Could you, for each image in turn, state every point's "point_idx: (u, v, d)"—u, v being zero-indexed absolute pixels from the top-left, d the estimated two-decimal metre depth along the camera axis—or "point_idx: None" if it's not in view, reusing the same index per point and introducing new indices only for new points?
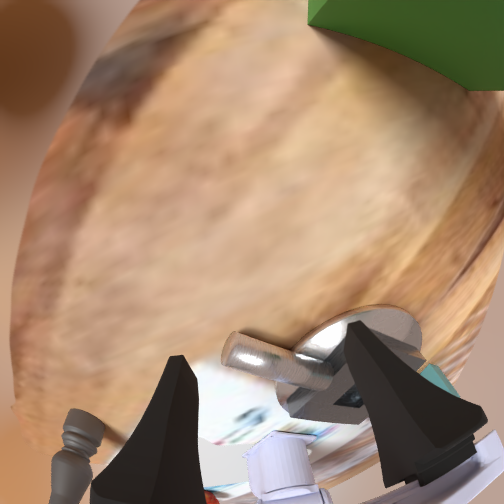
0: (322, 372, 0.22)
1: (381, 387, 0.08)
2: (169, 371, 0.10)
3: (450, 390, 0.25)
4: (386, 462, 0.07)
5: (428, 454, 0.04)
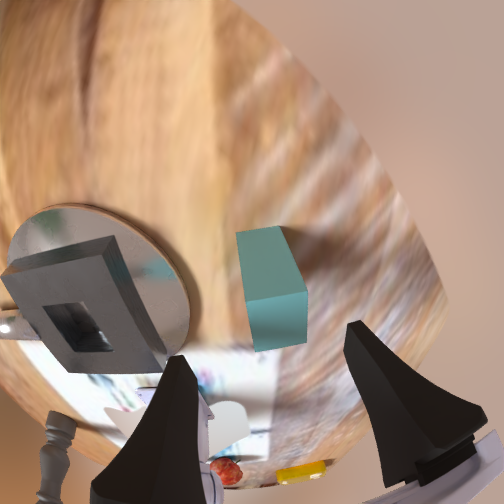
0: (20, 321, 0.17)
1: (381, 387, 0.08)
2: (169, 371, 0.10)
3: (254, 283, 0.14)
4: (386, 462, 0.07)
5: (428, 455, 0.04)
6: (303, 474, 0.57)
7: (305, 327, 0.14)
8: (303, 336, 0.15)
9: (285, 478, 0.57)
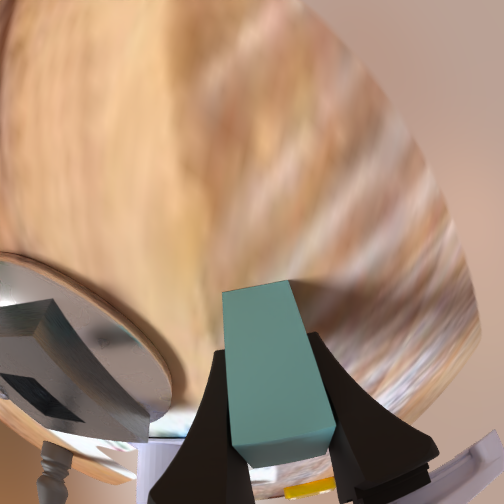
0: None
1: None
2: (218, 366, 0.10)
3: (247, 407, 0.07)
4: (338, 480, 0.07)
5: (362, 483, 0.04)
6: (312, 491, 0.51)
7: (325, 447, 0.08)
8: (321, 452, 0.08)
9: (293, 495, 0.51)
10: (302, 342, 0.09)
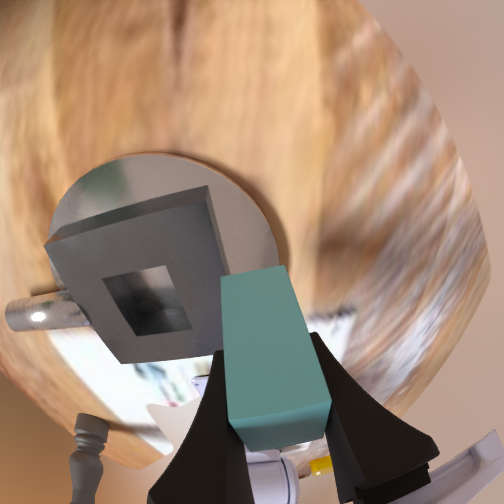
0: (63, 304, 0.16)
1: None
2: (218, 366, 0.10)
3: (243, 383, 0.08)
4: (338, 480, 0.07)
5: (362, 484, 0.04)
6: None
7: (322, 429, 0.08)
8: (318, 434, 0.08)
9: (320, 468, 0.56)
10: (298, 321, 0.10)
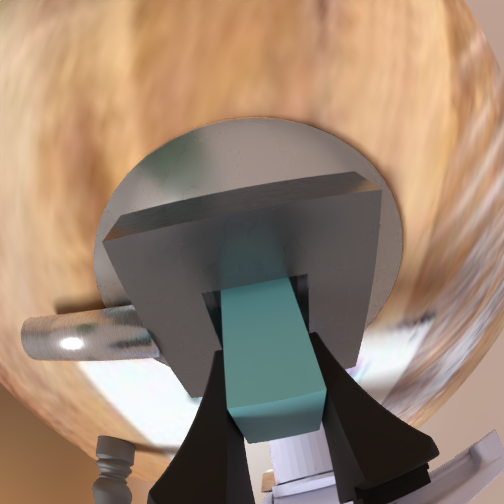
0: (122, 329, 0.12)
1: (327, 404, 0.08)
2: (219, 366, 0.10)
3: (242, 372, 0.08)
4: (338, 479, 0.07)
5: (362, 484, 0.04)
6: None
7: (319, 420, 0.09)
8: (315, 426, 0.09)
9: None
10: (294, 314, 0.10)
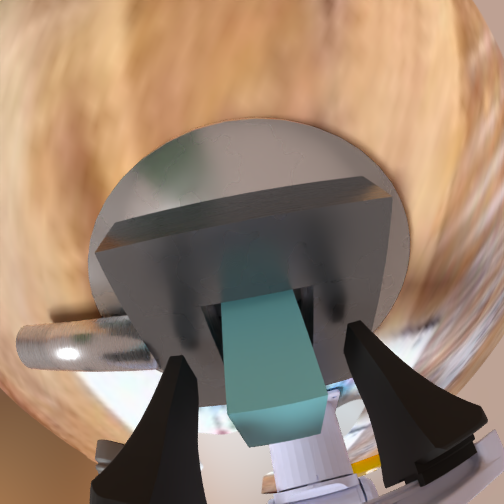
0: (118, 340, 0.11)
1: (381, 387, 0.08)
2: (169, 371, 0.10)
3: (242, 377, 0.08)
4: (386, 462, 0.07)
5: (428, 455, 0.04)
6: (362, 470, 0.52)
7: (320, 424, 0.08)
8: (316, 430, 0.09)
9: None
10: (295, 317, 0.10)
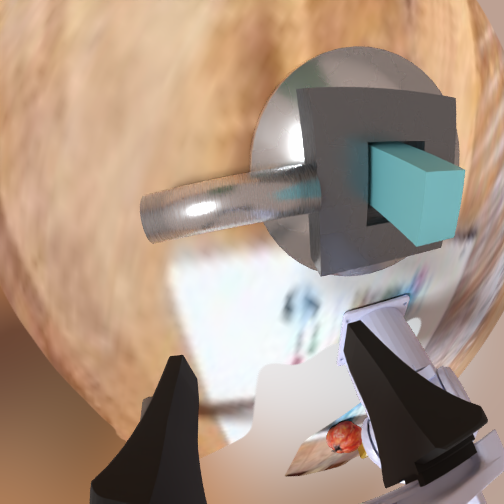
0: (292, 176, 0.14)
1: (381, 387, 0.08)
2: (169, 371, 0.10)
3: (419, 163, 0.11)
4: (386, 462, 0.07)
5: (428, 455, 0.04)
6: None
7: (457, 216, 0.11)
8: (453, 227, 0.12)
9: None
10: (424, 152, 0.13)
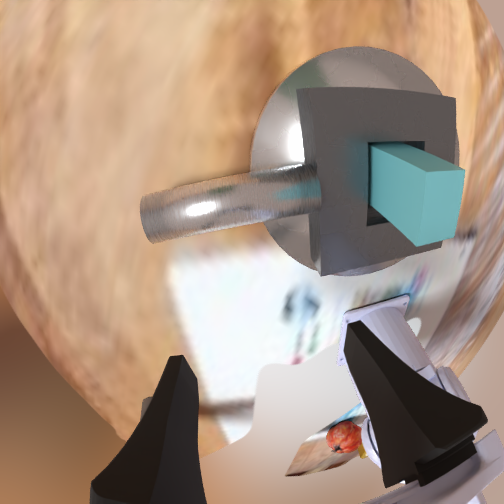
0: (292, 176, 0.14)
1: (381, 387, 0.08)
2: (169, 371, 0.10)
3: (419, 163, 0.11)
4: (386, 462, 0.07)
5: (428, 455, 0.04)
6: None
7: (457, 215, 0.11)
8: (453, 227, 0.12)
9: None
10: (424, 152, 0.13)
